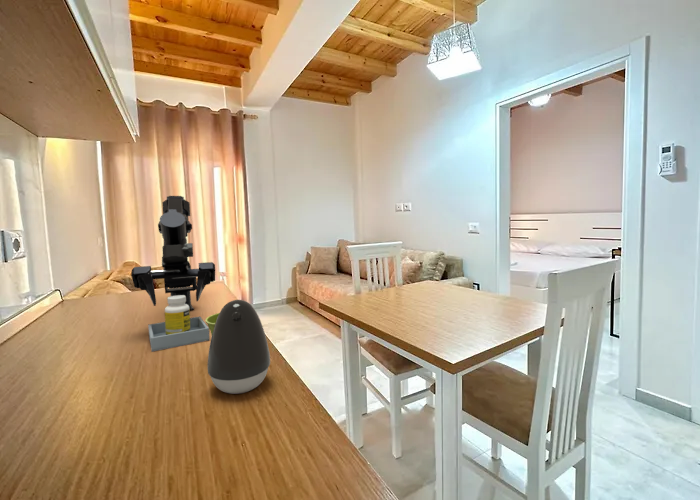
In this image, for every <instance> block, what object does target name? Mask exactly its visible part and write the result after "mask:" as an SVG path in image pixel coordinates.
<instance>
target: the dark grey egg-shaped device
mask: <svg viewBox="0 0 700 500" xmlns="http://www.w3.org/2000/svg"><path fill="white" fill-rule="evenodd" d="M218 313H219V315H218V317H217V320H216V323H215V326H214V329H213V333H212V335H211V338H210V342H209V347H208V348H209V349H208V354H207V356H208V357H207V375H209V376H210V379H211V381H212V383H213V385H214V386H215V387H216V388H217V389H218V390H220V391H221V392H224V393H226V394H233V395H234V394H235V395H236V394H244V393H247V392H249V391H252V390H254V389H256V388H257V387H258V386H260V385H261V383H262V382H263V381H264V379H265V378H266V375H267V374H268V370H269V367H270V365H271V356H270V355H271V354H270V349H269V345H268V340H267V337H266V332H265V330H264V326H263V324H262V321H261V319H260V317H259V314H258V313H257V311H256V309H255V308H254V307H253V305H252V304H251V303H250V302H249V301H246V300H243V299H234V300H233V299H232V300H231V301H229V302H227V303H226V304H224V306H223V307H222V308H221V310H220V312H218Z"/></svg>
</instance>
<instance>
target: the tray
mask: <svg viewBox="0 0 700 500" xmlns="http://www.w3.org/2000/svg"><path fill="white" fill-rule="evenodd" d="M147 327H148V339H149V344H150V350H151V352H157V351H161V350H167V349H172V348H178V347H182V346H187V345H192V344H193V345H194V344H197V343H203V342H207V341H211V338H210V329H209V326H208V324H207V323H206V321H204V320H203V318H202V317H201V316H194V317H190V331H186V332H180V333H174V334H169V335H166V327H165V321H163V322H161V321H160V322H157V323H156V322H155V323H151V324H148V325H147Z"/></svg>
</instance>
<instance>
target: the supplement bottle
mask: <svg viewBox="0 0 700 500" xmlns="http://www.w3.org/2000/svg"><path fill="white" fill-rule="evenodd" d="M185 302H186V296H185V295H176V296H171V295H169V296H168V297H167V304H168V305H167V306H166V307H165V308H164V322H165V327H166V335H169V334H174V333H180V332H186V331H190V318H191V313H190V312H191V310H190V309H189V306H188V305H187V304H185Z"/></svg>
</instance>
